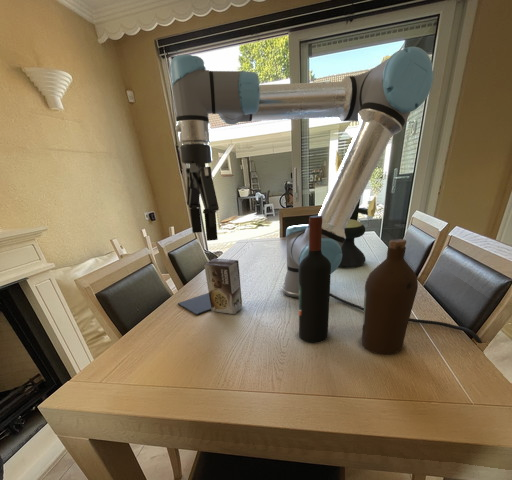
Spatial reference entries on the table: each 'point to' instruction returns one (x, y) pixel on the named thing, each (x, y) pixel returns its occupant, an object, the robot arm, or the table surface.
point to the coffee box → (224, 285)
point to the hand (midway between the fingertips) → (204, 236)
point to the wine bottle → (314, 288)
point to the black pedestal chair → (354, 232)
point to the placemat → (197, 304)
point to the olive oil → (388, 301)
